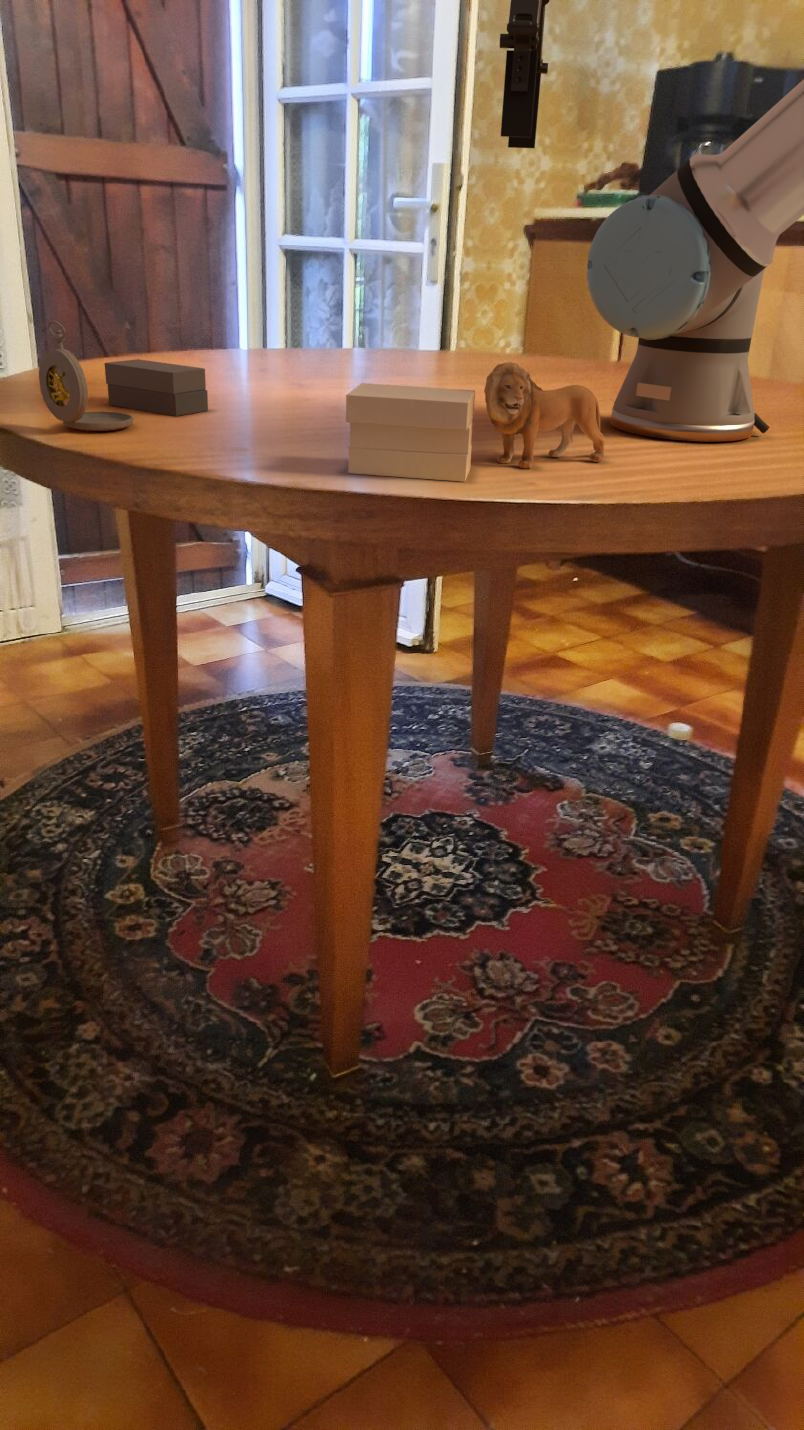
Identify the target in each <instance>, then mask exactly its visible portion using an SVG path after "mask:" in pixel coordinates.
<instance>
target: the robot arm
mask: <svg viewBox="0 0 804 1430" xmlns="http://www.w3.org/2000/svg"><path fill="white" fill-rule="evenodd" d="M549 3H550V0H510V4H509V5H510V6H509V16H508V22H507V23H506V32H507V33H500V34H499V49H507V50H506V55H505V56H506V57H505V69H504V82H503V83H504V84H503V98H502V112H501V124H500V125H501V126H500V137H501V138H502V137H505V138H507V137H508V141H507V148H513V149H536V140H537V138H536V137H537V129H538V128H537V124H538V116H539V115H538V114H539V105H540V103H539V102H540V93H541V92H540V91H541V80H542V75H548V72H549V62H544V59H543V47H544V46H543V45H544V31H545V19H546V18H545V17H546V5H548V4H549ZM509 49H511V50H509ZM803 216H804V78H803V79H802V80H801V81H800V82H799V83H798V84H796V85H795V87H793V88H792V89H791V90H790V91H789V92H788V93H787V94H786V95H784V96H783V97H782V98H781V99H779V101H778V102H777V103H775V105H773V106H772V107H771V108H770V109H769V110H767V112H766V113H765V114H764V115H762V116H761V118H759V119H758V120H757V121H756V122H755V123H753V125H751V126H750V127H749V128H748V129H747V130H746V131H744V132H743V133H742V134H741V135H740V136H739V137H738V138H737V139H736V140H735V141H733V142H732V144H730V145H729V146H728V147H727V148H726V149H725V150H724V151H722V152H721V153H717V154H706V153H705V154H703V153H694V155H692V156H690V158H689V159H687V160H686V161H685V162H684V164H682V165H681V166H680V167H679V168H678V169H676V170H675V172H674V173H672V174H671V175H669V177H668V178H667V179H666V180H665V181H663V182H662V183H661V184H660V185H659V186H658V187H657V188H656V189H655V190H654V191H652V192H651V193H650V194H647V195H644V194H643V195H640V196H637V197H635V198H634V199H632V200H631V199H630V200H628V201H627V202H625V203H624V204H622V205H620V206H619V207H617V208H616V209H614V211H612V212H611V213H609V215H608V216H607V217H606V219H604V221H603V222H602V223H601V224H600V226H599V228H597V231H596V233H595V235H594V236H593V238H592V239H593V240H592V241H591V245H590V247H589V251H588V255H587V265H586V282H587V289H588V293H589V296H590V298H591V301H592V303H593V305H594V307H595V309H596V311H597V313H598V314H599V315H600V317H601V319H603V320H604V321H605V322H606V323H607V325H608V326H610V327H611V328H613V329H614V330H615V331H616V332H619V333H621V334H623V335H625V336H629V337H632V338H637V339H638V340H637V347H636V348H637V349H636V351H635V356H634V357H633V360H632V362H631V364H630V366H629V369H628V371H627V374H626V376H625V378H624V380H623V382H622V384H621V387H620V389H619V390H618V393H617V395H616V398H615V401H614V403H613V406H612V408H611V417H610V425H612V427H614V428H616V429H618V430H621V431H623V432H627V433H631V434H635V435H640V436H645V437H651V438H658V439H666V440H676V441H685V442H686V441H687V442H734V441H741V440H746V439H749V438H750V437H752V435H753V432H754V427H755V428H756V429H757V430H758V431H760V432H761V434H763V435H764V434H765V433H766V432H767V431H768V430H769V429H770V426H769V425H768V424H767V423H766V422H765V421H764V420H763V419H762V418H761V417H760V416H759V414H758V413H757V412H755V407H754V398H753V391H752V383H751V376H750V368H749V355H750V349H751V344H752V339H753V333H754V328H755V321H756V316H757V312H758V311H757V310H758V307H759V306H758V305H759V300H760V295H761V290H762V283H763V279H764V273H765V269H767V267H769V266H770V265H771V264H772V263H773V259H774V254H775V250H776V245H777V241H778V239H779V237H780V235H781V234H782V233H784V232H785V231H786V230H787V229H788V228H790V227H792V225H794V224H795V223H796V222H797V221H798V220H800V219H801V218H802V217H803Z"/></svg>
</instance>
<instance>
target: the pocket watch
mask: <svg viewBox="0 0 804 1430" xmlns="http://www.w3.org/2000/svg"><path fill="white" fill-rule="evenodd" d="M52 324H55V325H57V326H58V327H59V328H60V329H56V331H55V333H56V334H55V333H54V331H53V330H52V328H51V326H52ZM47 329H48V332H49V333H50V334H51V336H53V339H54V340H55V342H57V345H56V347H55V348H52V349H50V350H47V351H46V352H45V353H44V354H43V357H42V358H41V359H40V363H39V368H38V382H39V389H40V393H41V396H42V399H43V402H44V404H45V406H46V408H47V410H48V411H49V412H50V413H51V414H52V415H53V417H54V418H56V419H57V420H58V421H60V422H62V423H63V425H64V427H65V426H66V427H68V428H71V429H74V430H76V431H77V430H79V431H90V432H100V431H101V432H102V431H103V432H104V431H105V432H106V431H109V432H110V431H111V432H112V431H113V432H114V431H116V430H122V429H125V428H128V427H130V426H132V425H133V423H134V417H133V416H132V415H131V414H128V413H125V412H118V411H104V410H103V411H102V410H101V411H100V410H99V411H86V410H87V405H88V400H89V399H88V394H89V393H88V391H89V390H88V384H87V379H86V376H85V373H84V370H83V368H82V366H81V363H80V362H79V360H78V358H76V356H75V355H74V354H73V353H72V352H71V351H70V350H68V349H67V348H64V345H63V343H64V342H65V340H66V337H67V332H66V328H65V327H64V326H63V325H62V324H61V323H60V322H58V321H56V320H49V321H48V323H47ZM62 333H63V334H62ZM66 400H67V403H65V401H66Z"/></svg>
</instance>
